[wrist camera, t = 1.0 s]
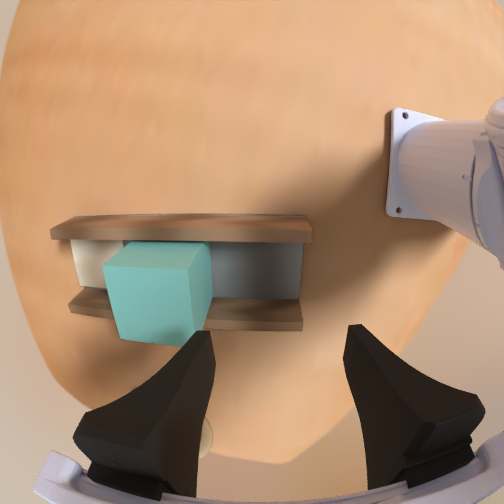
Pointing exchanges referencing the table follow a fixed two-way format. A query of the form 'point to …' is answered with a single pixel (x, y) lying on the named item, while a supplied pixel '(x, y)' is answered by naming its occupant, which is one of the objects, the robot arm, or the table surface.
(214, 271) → the chute
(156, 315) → the block
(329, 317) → the table surface
